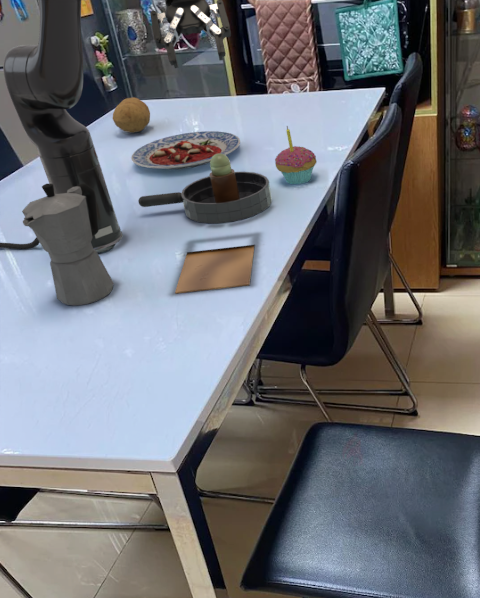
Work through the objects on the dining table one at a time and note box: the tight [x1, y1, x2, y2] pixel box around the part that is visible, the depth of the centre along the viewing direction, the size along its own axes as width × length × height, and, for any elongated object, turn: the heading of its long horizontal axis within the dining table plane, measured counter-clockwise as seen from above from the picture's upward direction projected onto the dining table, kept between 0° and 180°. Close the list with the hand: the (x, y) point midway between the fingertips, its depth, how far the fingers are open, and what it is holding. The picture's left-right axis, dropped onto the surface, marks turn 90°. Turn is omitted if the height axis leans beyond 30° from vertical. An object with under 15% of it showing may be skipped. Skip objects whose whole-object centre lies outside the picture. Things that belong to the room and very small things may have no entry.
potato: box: [112, 97, 151, 134], centre depth 189 cm, size 10×14×8 cm
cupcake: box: [274, 125, 317, 185], centre depth 144 cm, size 9×8×12 cm
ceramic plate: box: [130, 130, 241, 170], centre depth 168 cm, size 26×26×3 cm
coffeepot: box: [21, 183, 115, 306], centre depth 112 cm, size 15×9×18 cm, turn 159°
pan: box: [181, 171, 273, 224], centre depth 138 cm, size 17×17×4 cm
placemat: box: [174, 244, 256, 294], centre depth 121 cm, size 12×20×1 cm, turn 3°
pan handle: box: [138, 191, 183, 208], centre depth 138 cm, size 9×2×2 cm, turn 93°
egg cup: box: [209, 153, 240, 203], centre depth 136 cm, size 5×5×10 cm
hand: (198, 61), depth 133 cm, fingers open, 8 cm apart
